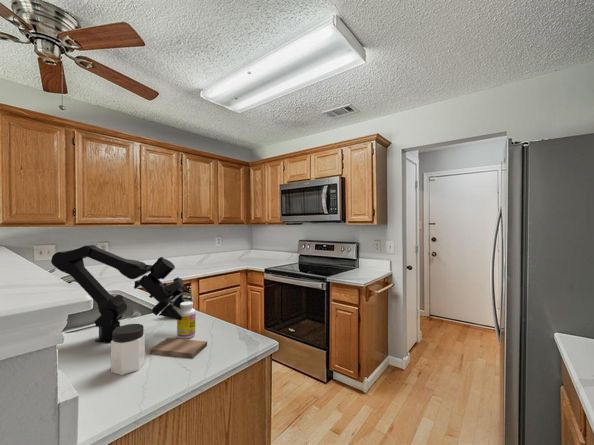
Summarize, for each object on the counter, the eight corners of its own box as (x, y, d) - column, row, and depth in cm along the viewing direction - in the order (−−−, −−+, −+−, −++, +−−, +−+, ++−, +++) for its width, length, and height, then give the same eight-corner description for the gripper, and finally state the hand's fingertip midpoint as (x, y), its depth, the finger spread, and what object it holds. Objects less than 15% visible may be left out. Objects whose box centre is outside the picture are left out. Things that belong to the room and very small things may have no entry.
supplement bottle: (190, 340, 104) (190, 306, 103) (173, 339, 104) (173, 305, 104) (198, 332, 110) (198, 300, 110) (182, 332, 111) (182, 300, 110)
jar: (105, 371, 82) (105, 331, 82) (130, 358, 90) (130, 321, 90) (126, 377, 79) (126, 336, 79) (150, 363, 86) (150, 325, 86)
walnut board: (150, 353, 93) (150, 349, 93) (167, 341, 102) (167, 337, 102) (193, 358, 90) (193, 353, 90) (207, 345, 99) (207, 341, 99)
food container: (197, 313, 133) (197, 292, 133) (192, 317, 127) (192, 296, 126) (171, 313, 132) (171, 292, 132) (165, 318, 126) (165, 296, 126)
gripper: (161, 277, 97) (193, 307, 98) (178, 268, 115) (205, 293, 117) (137, 300, 96) (170, 330, 97) (158, 287, 115) (186, 312, 116)
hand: (185, 314), depth 107 cm, fingers open, 9 cm apart
